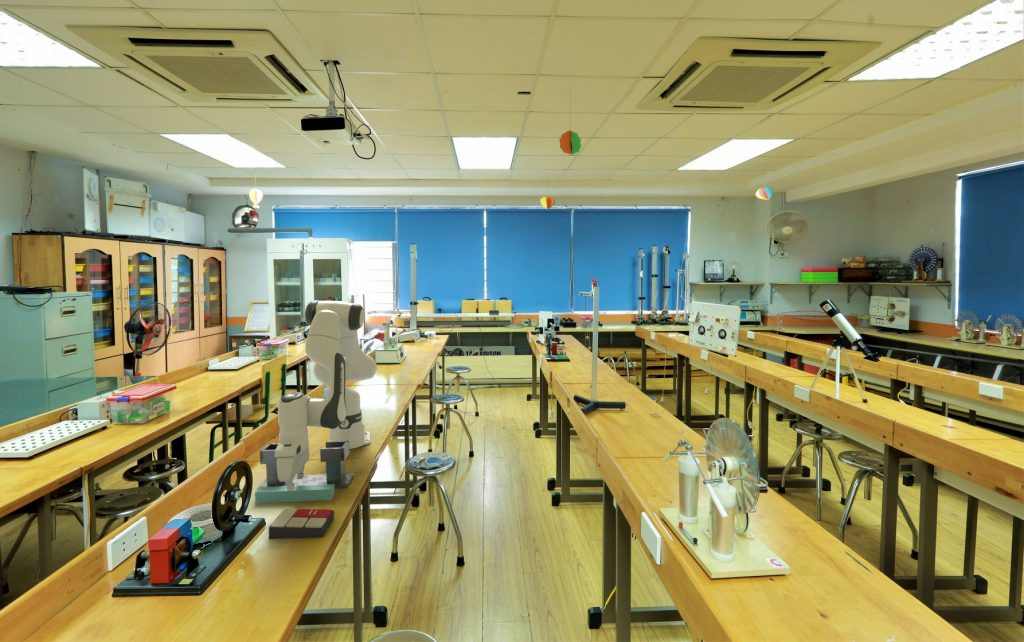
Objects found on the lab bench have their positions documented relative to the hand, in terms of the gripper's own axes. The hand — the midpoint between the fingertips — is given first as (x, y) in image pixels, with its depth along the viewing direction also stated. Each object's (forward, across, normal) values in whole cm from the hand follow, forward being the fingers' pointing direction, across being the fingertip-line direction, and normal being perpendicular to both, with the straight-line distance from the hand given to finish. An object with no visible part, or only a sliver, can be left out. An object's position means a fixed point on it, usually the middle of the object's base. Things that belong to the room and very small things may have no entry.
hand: (295, 484), depth 163 cm
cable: (+6, +19, -20) cm, 28 cm away
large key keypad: (+6, +20, +8) cm, 22 cm away
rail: (+6, 0, 0) cm, 6 cm away
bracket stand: (+5, -12, 0) cm, 13 cm away
